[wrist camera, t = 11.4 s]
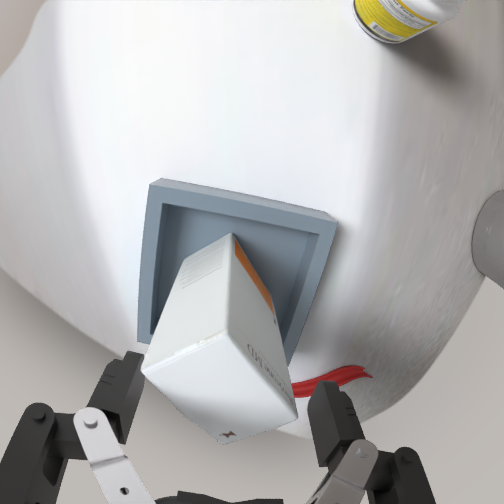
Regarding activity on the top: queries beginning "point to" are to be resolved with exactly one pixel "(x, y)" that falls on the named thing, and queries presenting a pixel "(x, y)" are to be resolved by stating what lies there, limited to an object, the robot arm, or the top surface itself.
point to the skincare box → (222, 347)
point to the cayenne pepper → (338, 375)
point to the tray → (250, 239)
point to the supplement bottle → (402, 17)
